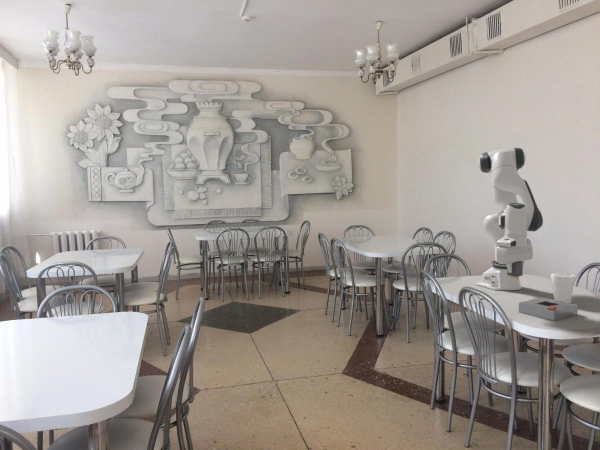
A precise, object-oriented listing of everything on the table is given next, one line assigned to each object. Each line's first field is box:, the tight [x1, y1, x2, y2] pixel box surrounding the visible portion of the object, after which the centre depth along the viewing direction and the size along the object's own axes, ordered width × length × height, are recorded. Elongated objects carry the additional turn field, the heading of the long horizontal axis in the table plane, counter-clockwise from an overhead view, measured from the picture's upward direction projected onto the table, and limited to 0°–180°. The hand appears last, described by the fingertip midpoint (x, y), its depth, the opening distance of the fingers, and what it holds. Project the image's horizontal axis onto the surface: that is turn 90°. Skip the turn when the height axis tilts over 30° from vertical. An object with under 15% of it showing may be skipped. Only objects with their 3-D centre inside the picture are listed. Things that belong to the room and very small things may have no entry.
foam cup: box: [550, 272, 576, 304], centre depth 219 cm, size 10×9×13 cm
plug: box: [507, 262, 524, 279], centre depth 212 cm, size 4×4×8 cm
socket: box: [518, 296, 579, 322], centre depth 204 cm, size 16×16×5 cm
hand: (514, 271), depth 212 cm, fingers closed on plug, 4 cm apart
